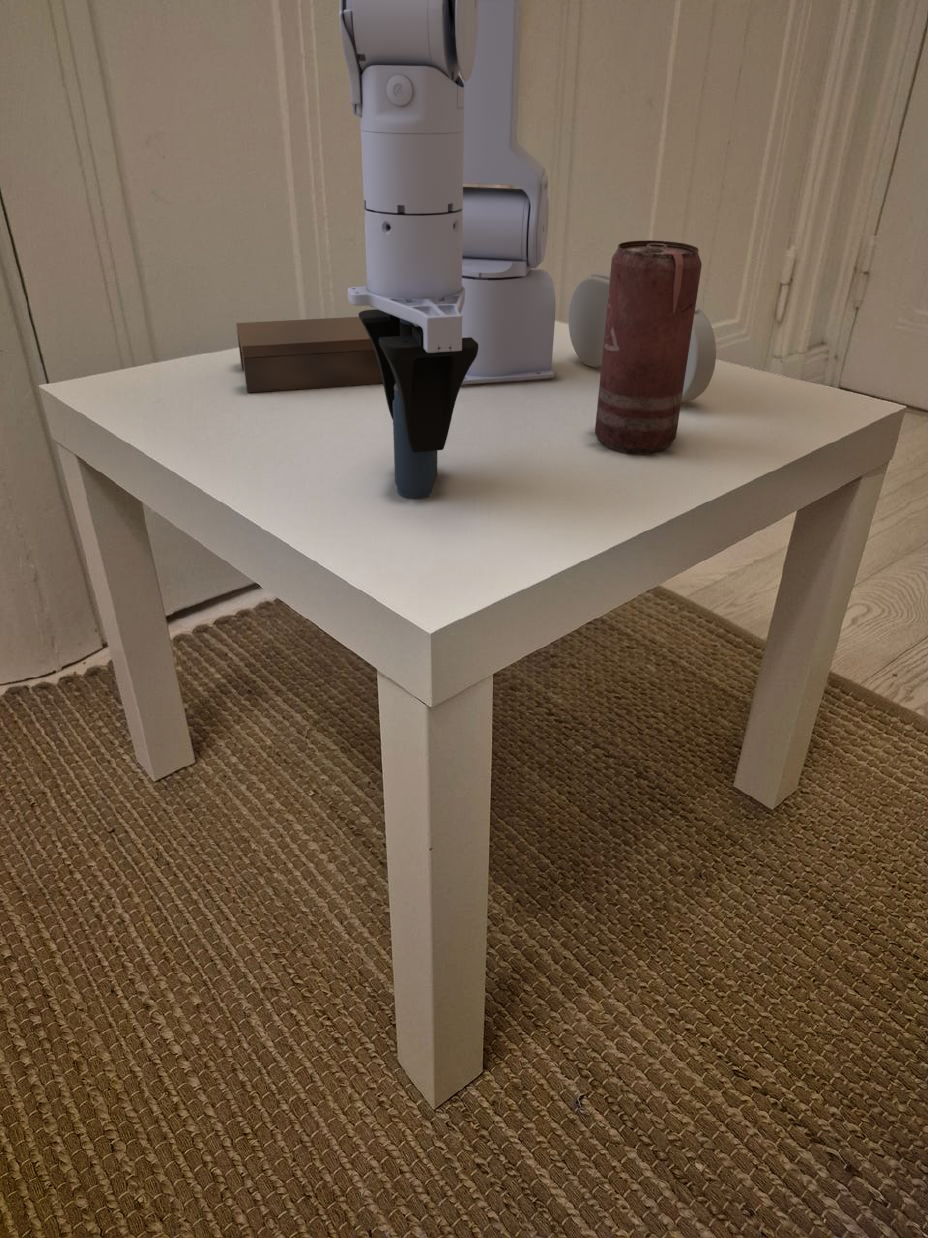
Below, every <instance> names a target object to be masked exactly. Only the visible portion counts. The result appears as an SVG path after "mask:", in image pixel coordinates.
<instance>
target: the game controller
mask: <svg viewBox="0 0 928 1238" xmlns="http://www.w3.org/2000/svg"><path fill="white" fill-rule="evenodd" d="M609 282H610V273H607V272H598V273H591V274H590V276H588V277H586V278H584V279H583V280H581V281H580V282H579V283H578V285H577V286H576V287H575V289H574V291H573V293H572V296H571V298H570V303H569V309H568V333H569V337H570V342H571V345H572V347H573V350H574V352H575V354H576V356H577V357H578V359H579V360H580V361H581V362H582V363H583V364H584V365H586V366H588V367H590V368H601V364H602V354H603V344H604V333H605V323H606V313H607V303H608V292H609ZM716 361H717V343H716V336H715V332H714V329H713V326H712V324H711V321H710V320H709V317H708V316H707V315H706V313H705V312H704V311H703V310H702V309H701V308H700V307H699V306H698V305H697V304H696V307H695V313H694V320H693V327H692V333H691V340H690V347H689V354H688V360H687V367H686V374H685V380H684V387H683V394H682V401H681V403H685V402H689V401H692V400H695V399H696V398H698V397H700V396H701V395H702V394H703V393H704V392H705V391H706V389H707V387H709V384H710V382H711V380H712V377H713V376H714V371H715V368H716Z"/></svg>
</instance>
